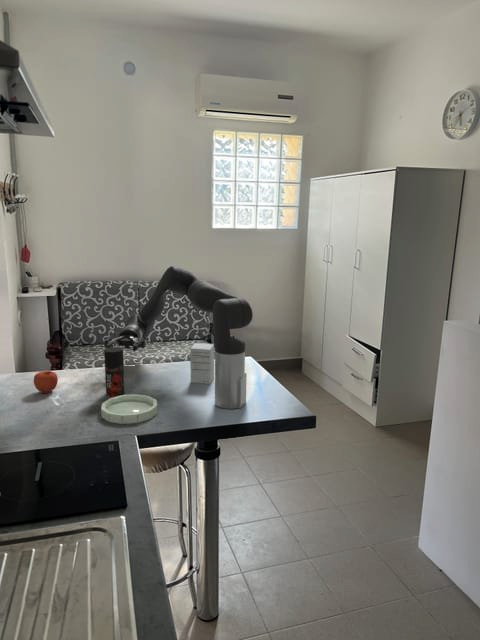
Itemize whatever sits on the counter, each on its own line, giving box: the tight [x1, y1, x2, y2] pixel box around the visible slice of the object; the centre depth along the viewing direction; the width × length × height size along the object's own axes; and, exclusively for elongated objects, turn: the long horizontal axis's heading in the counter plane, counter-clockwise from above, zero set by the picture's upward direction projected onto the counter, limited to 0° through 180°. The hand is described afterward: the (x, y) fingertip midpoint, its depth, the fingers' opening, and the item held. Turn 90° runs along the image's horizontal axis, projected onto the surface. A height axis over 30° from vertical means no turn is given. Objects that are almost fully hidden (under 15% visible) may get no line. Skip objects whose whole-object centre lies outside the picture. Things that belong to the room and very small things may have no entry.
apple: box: [33, 368, 59, 395], centre depth 159 cm, size 7×7×8 cm
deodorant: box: [103, 347, 126, 398], centre depth 157 cm, size 6×6×15 cm
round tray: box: [100, 393, 158, 425], centre depth 144 cm, size 16×16×2 cm
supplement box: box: [189, 342, 215, 385], centre depth 172 cm, size 7×7×13 cm
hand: (121, 348), depth 168 cm, fingers open, 8 cm apart
